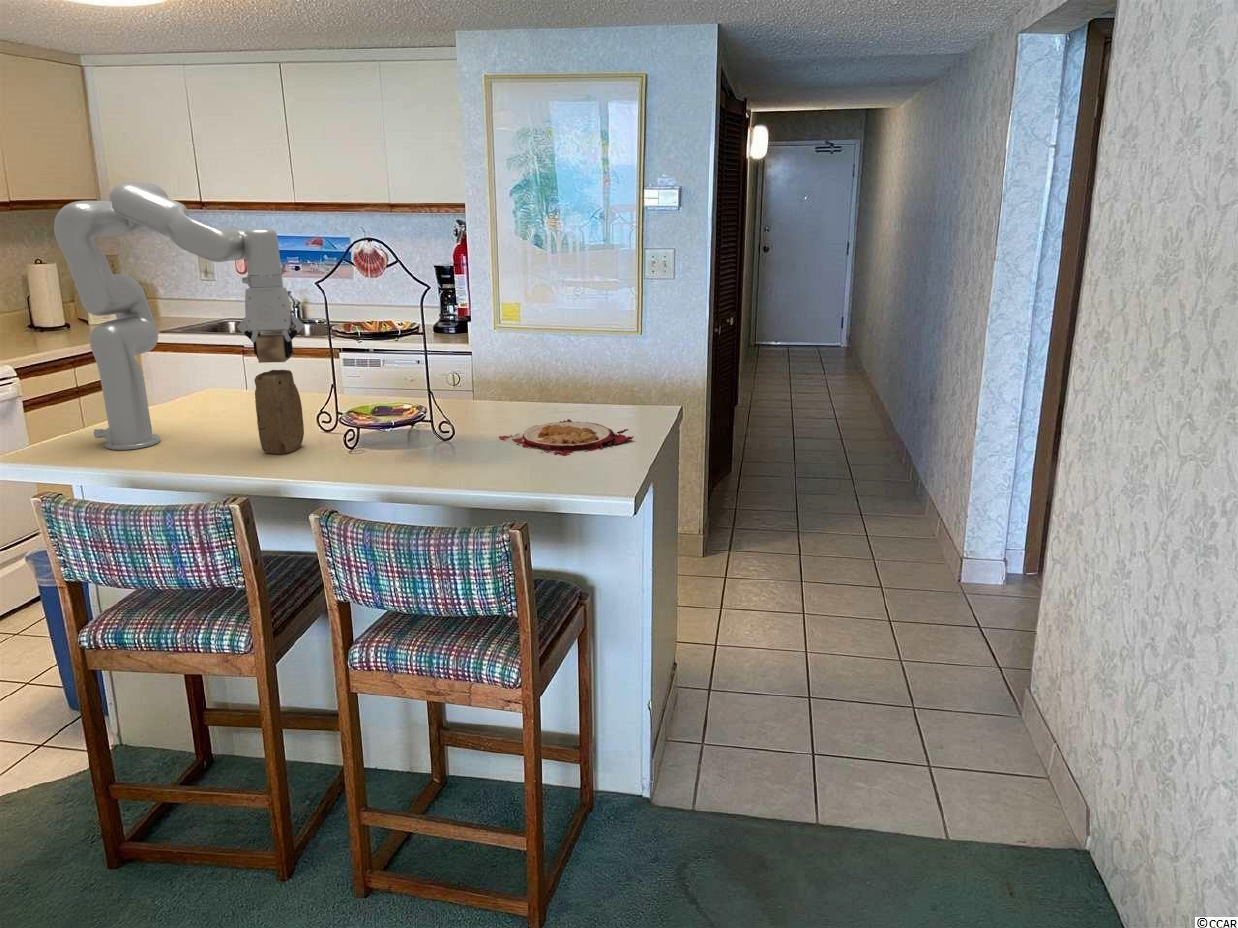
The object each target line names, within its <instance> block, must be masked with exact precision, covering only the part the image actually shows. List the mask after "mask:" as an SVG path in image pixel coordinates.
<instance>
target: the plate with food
mask: <svg viewBox="0 0 1238 928" xmlns="http://www.w3.org/2000/svg"><path fill="white" fill-rule="evenodd" d="M627 431H629V428H628V429H627V428H624V429H623V430H618V431H617V432H614V431H613V430H612V429H611V428H608V427H606V426H604V425H602V424H599V423H596V422H595V423H594V422H589V421H588V422H586V421H585V422H584V421H583V422H582V421H573V420H571V419H570V418H567V419H565V420H562V421H561V420H560V421H559V422H549V423H544V424H539V425H532V427H529V428H527V430H525V431H524V433H523V434H522V437H517V436H519V433H516V434H514V435H512V434H510V435H502V436H501V435H500V436H499V435H498V438H499V440H501V441H503V442H505V441H506V440H507V441H508V440H510V438H513V439H511V440H512V441H513V442H514V443H517V444H516V446H517V445H518V446H519V444H520V445H521V444H522V447H523V448H526V449H529V450H531V449H535V448H536V449H540V450H541V452H540V453H541V454H543V453H545V454H553V455H554V456H561V457H566V456H570V455H571V454H574V453H575V452H580V451H581V450H582V451H583V450H584V451H583V452H584V453H588V452H594V451H600V450H602V449H603V448H604V447H603V445H604V446H605V444H603V443H606V445H609V446H610V445H612V443H613V444H614V445H620V444H622V443H624V442H626V441H629V440H630V441H631V440H632V439H634V437H635V435H632V436H626V435H624V434H623V433H625V432H627ZM514 436H515V437H517V438H514ZM602 444H603V445H602ZM545 450H547V451H545Z"/></svg>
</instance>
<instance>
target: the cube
mask: <svg viewBox="0 0 1238 928" xmlns="http://www.w3.org/2000/svg"><path fill="white" fill-rule="evenodd" d="M284 342H285V338H284V336H283V334H282V333H262V334H260V336H258V337H256V345H257V354H258V359H257V360H258V363H259V364H260V363H261V364H262V363H265V364H266V363H267V364H268V363H285V362H287V361H288V360H289V359H291V357H289V358H286V357H285V348H284Z"/></svg>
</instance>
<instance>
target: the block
mask: <svg viewBox="0 0 1238 928" xmlns="http://www.w3.org/2000/svg"><path fill="white" fill-rule="evenodd" d="M253 380H254V384H255V391H254V398H255V401H254V403H255V412H256V413H255V414H256V421H257V423H256V424H257V430H258V437H259V443H260V446H261V450H262V451H263V452H264V453H268V454H272V455H282V454H283V455H284V454H289V453H293V452H296V451H297V450H298V449H299V448H300V447H301V446H302V443H303V440H304V435H305V427H304V417H303V416H304V415H303V405H302V401H301V400H302V399H301V396H300V393H299V390H298V387H297V384H295V381H294V376H293V372H292V371H291V370H289V369H271V370H268V371H263V372H262V373H259V374H258V375H256V376H255V378H254V379H253Z"/></svg>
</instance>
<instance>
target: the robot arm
mask: <svg viewBox="0 0 1238 928" xmlns="http://www.w3.org/2000/svg"><path fill="white" fill-rule="evenodd" d="M189 216H190V215H189V210H188V208H187V207H186V205H185V204H183V203H182V202H179V201H177V200H174V199H172V198H170V197H169V196H168V194H167V192H166V191H165V190H164V189H163V188H161V186H158V185H156V184H154V183H149V182H123V183H120V184H118V185H116V186H115V187H113V189H112V190H111V192H110V194H109V200H78V201H73V202H70V203H68V204H65V205H63V207H61V208H60V209H59V211H58V213H57V214H56V216H55V218H54V225H53V231H54V232H53V233H54V237H55V239H56V242H57V244H58V246H59V249H60V250H61V252H62V255H63V256H64V259H65V261H66V263H67V266H68V268H69V272H70V275H71V277H72V280H73V283H74V285H75V288H76V290H77V291H76V292H77V294H78V296H79V299H80V301H81V303H82V306H83V308H84V310H85V311H86V312H88V313H89V314H90V315H93V316H97V317H103V316H111V315H115V317H116V319H111V320H107V321H104V322H101V323H99V324H97V325H96V326H95V327H94V328H93V329H92V330H91V332H90V334H89V346H90V349H91V352H92V354H93V357H94V360H95V362H96V365H97V368H98V369H97V370H98V373H99V379H100V384H101V388H102V389H101V390H102V396H103V401H104V406H105V413H106V418H107V424H108V427H107V428H104V429H103V428H97V429H95V428H94V429H93V436H94V438H96V439H103V438H104V439H105V441H104V446H105V448H106V449H108V450H115V451H116V450H117V451H125V450H126V451H127V450H137V449H143V448H147V447H151V446H154V445H157V444H158V443H160V442H161V437H160V435H159V434H155V433H153V428H152V422H151V415H150V409H149V408H150V407H149V403H148V394H147V391H146V390H147V389H146V385H145V384H146V383H145V378H144V373H143V370H142V368H141V366H140V364H139V363H138V361H137V359H136V357H135V356H138V355H141V354H142V355H143V354H144V353H148V352H150V351H152V350H153V349H154V348H155V347H156V346H157V344H158V340H159V332H158V328H157V325H156V322H155V318H154V316H153V313H152V310H151V308H150V305H149V302H148V301H149V300H148V299H147V296H146V294H145V292H144V289H143V287H142V286H141V285H140V283H139V282H138V281H137V280H136V279H134V278H133V277H132V276H130V275H127V274H121V273H119V274H118V273H116V274H114V273H113V272H112V269H111V267H110V264H109V260H108V258H107V256H106V254H105V252H104V251H103V250H102V249H101V247H100V246H99V245H98V244H97V243H96V242H95V238H105V237H122V236H124V235H125V236H126V234H127V235H128V234H130V233H132V232H134V231H137V230H139V229H142V228H143V227H145V228H147V229H150V230H152V231H153V232H156V233H159V234H161V235H163V236H165V237H167V238H169V239H170V241H172V243H174V244H175V245H176V246H177V247H179V248H180V249H182V250H184V251H185V252H188V253H190V254H192V255H195V256H197V257H200V258H202V259H205V260H208V261H211V262H216V263H222V262H232V261H233V262H234V261H240V260H241V261H242V260H245V261H246V271H247V275H246V276H245V277H242V278H241V282H242V284H246V285H247V286H248V288H245V294H244V295H245V296H244V309H245V316H244V317H243V319H242V320H241V321H240V322H239V323H238V325H237V326H236V328H237V330H239V331H240V332H241V333H242V334H244V336H246V337H247V338H248V339H249V340H250V341H251V342H252V344H253V352H254V355H256V359H257V360H258V354H257V345H256V337H258V336H260V335H262V334H261V333H262V332H275V331H276V332H278V331H279V332H281V334H283V336H284V338H285V342H284V348H285V357H286V358H289V357H290V358H292V357H291V356H292V355H293V354H294V348H293V340H294V338H295V337H296V336H297V335H298V333H299V332H300V331H301V330H302V329H303V328H304V327H305V324H304V323H303V321H301V320H300V319H299V318H297V317H296V316H295V315H294V314H293V310H292V305H291V301H290V297H289V293H288V290H287V287H284V283H283V274H282V266H281V256H280V248H279V239H278V233H277V231H276V230H274V229H272V228H241V227H216V228H214V227H212V226H209V225H207V224H204V223H201V222H199V221H197V220H195V219H193V218H191V217H189ZM294 325H295V327H294V329H292V330H290V328H292V327H293V326H294ZM290 358H289V359H290Z"/></svg>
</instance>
